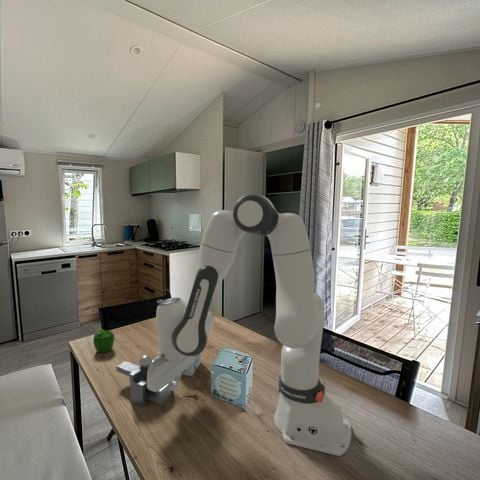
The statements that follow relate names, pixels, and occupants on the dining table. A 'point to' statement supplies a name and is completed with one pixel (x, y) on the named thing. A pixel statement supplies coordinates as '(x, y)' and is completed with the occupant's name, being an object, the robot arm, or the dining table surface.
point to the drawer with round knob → (137, 378)
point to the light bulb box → (192, 366)
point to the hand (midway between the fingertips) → (174, 388)
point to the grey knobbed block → (158, 395)
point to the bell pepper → (103, 340)
